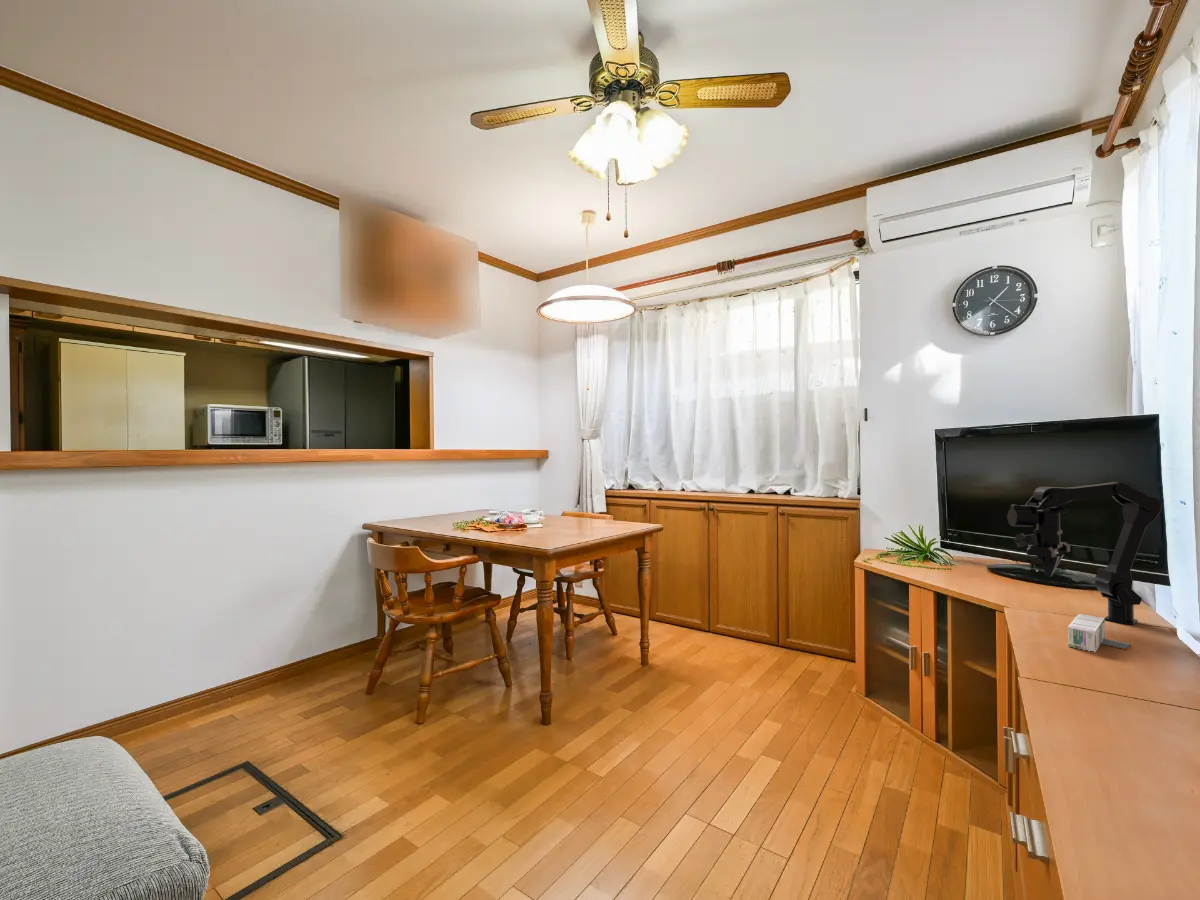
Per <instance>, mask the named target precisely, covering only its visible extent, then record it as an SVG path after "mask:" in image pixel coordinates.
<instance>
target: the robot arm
mask: <svg viewBox="0 0 1200 900" xmlns="http://www.w3.org/2000/svg"><path fill="white" fill-rule="evenodd" d="M1110 496H1111V497H1112V498H1113V499H1114V500H1115V501H1116V502H1117V503H1119V504H1120V505H1121V506H1122V516H1123V520H1124V521H1123V526H1122V529H1121V530H1120V535H1119V537H1118V540H1117V542H1116V545H1115V548H1114V550H1113V553H1112V556H1111V559H1110V562H1109V563H1108V565H1107V566H1105V567H1104V568H1101V567H1098V568H1097V570H1096V575H1095V576H1094V578H1093V580H1094V586H1095V587H1096V589H1097V590H1098V591H1099V592H1100V594H1101V597H1102V598H1105V599H1107V616H1106V617H1104V618H1105V621H1108V622H1115V623H1119V624H1125V625H1131V626H1132V625H1133V626H1134V625H1135V624H1137V621H1138V619H1135V617H1134V616H1135V613H1134V612H1135V611H1134V610H1135V609H1134V607H1135V606H1136V605H1138V606H1140V604H1141V603H1142V600H1143V598H1142V597H1141V596H1140V595H1139V594H1138V593H1136V591H1134V590H1133V582H1134V580H1133V578H1132V572H1131V570H1132V568H1133V564H1134V561H1135V558H1136V556H1137V553H1138V551H1139V547H1140V545H1141V543H1142V540H1143V537H1144V534H1145V531H1146V529H1147V527H1148V526H1149V525H1150V524H1151V523H1153V522H1154V521H1155V520H1156V519H1157V517H1158V516H1159V514H1160V513H1161V512H1162V511H1161V510H1162V507H1163V506H1162V503H1161V502H1160V500H1158V499H1157V498H1155V497H1153V496H1149V495H1146V494H1145V493H1143V492H1140V491H1139V490H1136V489H1134V488H1132V487H1130V486H1129V485H1127V484H1126V483H1124V482H1118V481H1109V482H1105V483H1097V484H1088V485H1078V486H1071V487H1058V486H1039V487H1037V488H1035V490H1034V491H1033V493H1032V496H1031V497H1030V498H1029V500H1028V501H1027V502H1026V503H1025V504H1024V505H1023V504H1022V505H1019V504H1011V505H1010V508H1009V509H1008V511H1007V512H1008V513H1007V515H1006V518H1007V522H1008V524H1009V525H1010V526H1011V527H1034V526H1036V529H1034V530H1033V533H1032V534H1026V535H1025V533H1023V532H1022V533H1017V534H1015V537H1014V538H1013V539H1014V540H1013V542H1014V544H1016V545H1017V547H1018V548H1023V547H1025V546H1028V547H1027V548H1026V555H1027V556H1033V557H1037V558H1038V559H1040V561H1041V565H1042V567H1043V570H1044V572H1045V576H1046V577H1050V578H1051V577H1053V576H1054V575H1053V574H1054V573H1055V571H1056V569H1057V567H1058V566H1059V564H1060V563H1061V560H1063V557H1064V556H1065V554H1063V553H1059V551H1063V552H1065V553H1069V552H1071V545H1070V544H1069V543H1068V542H1064V541H1061V535H1062V534H1063V530H1062V529H1061V514H1068V513H1069V510H1067V509H1066V508H1065V507H1063V505H1065V504H1068V503H1070V502H1072V501H1076V500H1084V499H1086V500H1087V499H1092V498H1093V499H1094V498H1105V497H1110Z"/></svg>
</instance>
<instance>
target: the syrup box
mask: <svg viewBox="0 0 1200 900" xmlns="http://www.w3.org/2000/svg"><path fill="white" fill-rule="evenodd" d="M1105 625H1106V620H1105V617H1100V616H1099V617H1098V616H1094V615H1089V614H1088V615H1087V614H1081V613H1078V614H1077V615H1076V617H1074V618H1073V620H1072V621H1071V622H1070V623H1069V625H1068V626H1067V640H1068V641H1067V643H1068V644H1067V647H1069V648H1071V647H1073V648H1072V649H1076V648H1077V649H1076V650H1080V649H1082V650H1081V651H1085V650H1088V651H1087V652H1090V651H1094V652H1093V653H1096V652H1097V651H1098V649H1099V648H1100V646H1101V643H1102V641H1103V640H1104V639H1106V627H1105Z"/></svg>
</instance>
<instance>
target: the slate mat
mask: <svg viewBox="0 0 1200 900" xmlns="http://www.w3.org/2000/svg"><path fill="white" fill-rule="evenodd" d="M1101 644H1103V645H1102V646H1105V645H1108V646H1107V647H1110V646H1113V647H1112V648H1115V647H1118V648H1117V649H1119V648H1123V649H1122V650H1124V649H1126V648H1127V647H1128V648H1129V647H1131V646H1130V645H1132V644H1131V643H1128V642H1124V641H1119V640H1113V639H1109V638H1104V640H1103V641H1102V643H1101ZM1101 644H1100V645H1101ZM1128 648H1127V649H1128ZM1127 649H1126V650H1127Z"/></svg>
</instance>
